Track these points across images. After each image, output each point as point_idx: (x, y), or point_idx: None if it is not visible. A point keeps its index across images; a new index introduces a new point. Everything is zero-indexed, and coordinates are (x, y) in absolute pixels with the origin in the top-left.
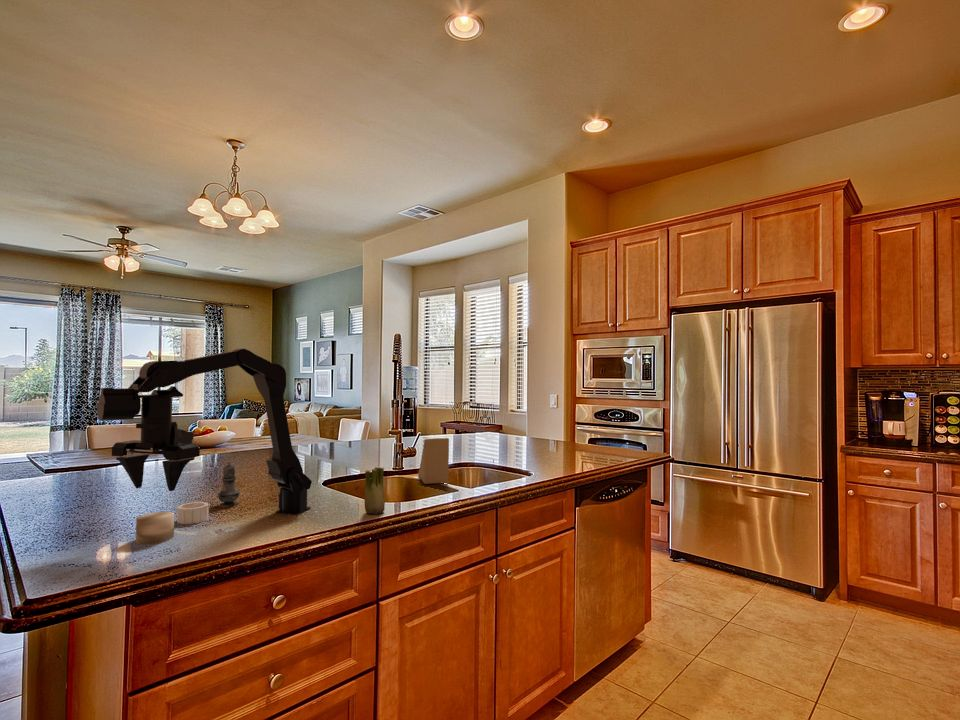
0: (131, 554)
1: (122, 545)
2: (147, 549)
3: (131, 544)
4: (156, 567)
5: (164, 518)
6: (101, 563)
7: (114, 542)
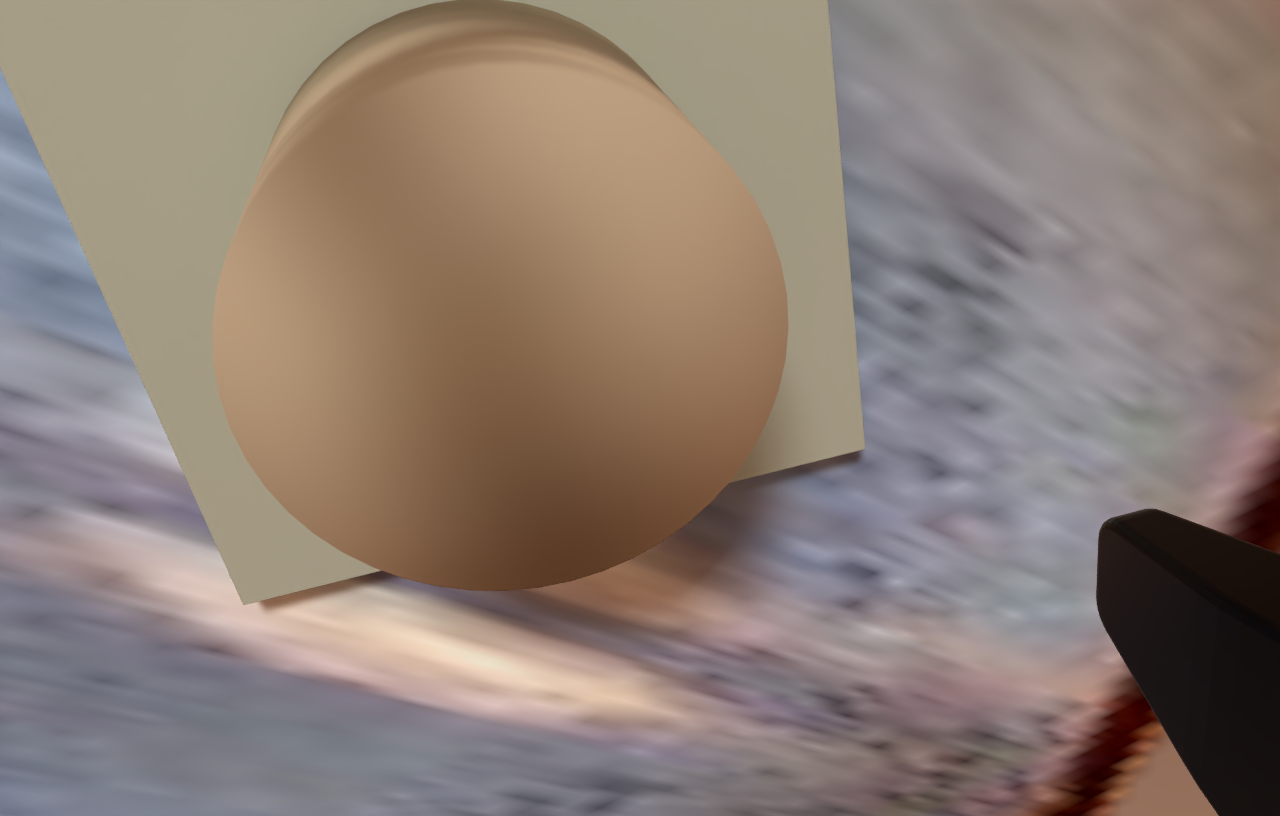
0: None
1: None
2: None
3: None
4: None
5: (777, 350)
6: (656, 729)
7: (59, 468)
